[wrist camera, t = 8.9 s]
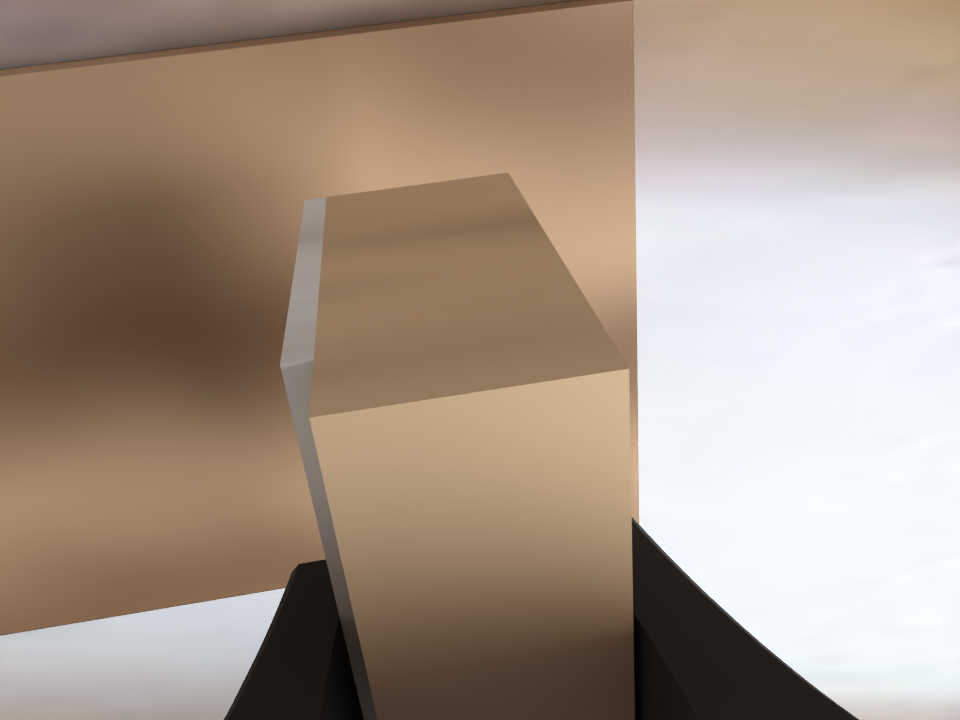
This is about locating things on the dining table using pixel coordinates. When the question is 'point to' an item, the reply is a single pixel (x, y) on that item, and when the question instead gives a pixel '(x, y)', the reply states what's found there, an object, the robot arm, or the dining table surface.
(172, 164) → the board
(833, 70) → the dining table surface
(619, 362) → the light wood block
